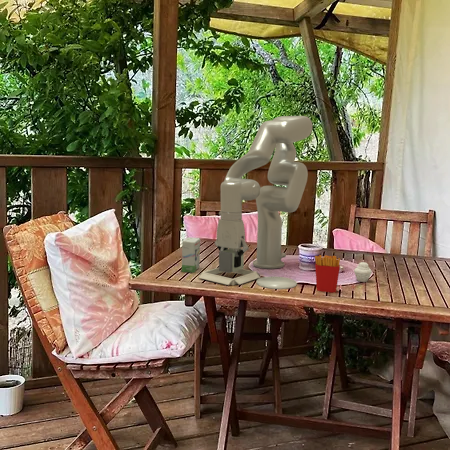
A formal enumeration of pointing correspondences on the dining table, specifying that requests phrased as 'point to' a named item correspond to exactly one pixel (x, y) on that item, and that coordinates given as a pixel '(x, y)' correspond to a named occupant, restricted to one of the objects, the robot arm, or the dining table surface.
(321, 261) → the french fries
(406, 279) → the dining table surface
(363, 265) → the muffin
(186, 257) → the ink box
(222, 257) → the block
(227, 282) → the beige square frame
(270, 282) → the cream round plate
